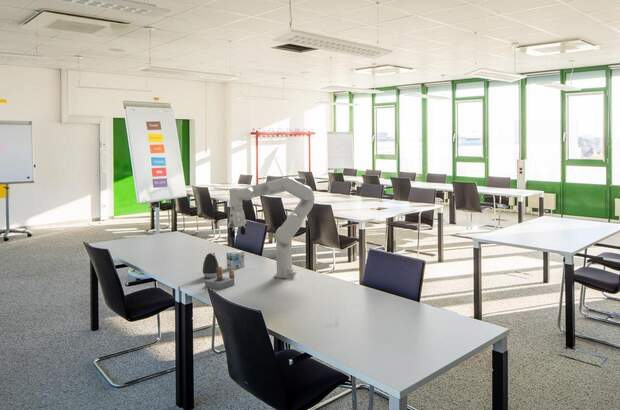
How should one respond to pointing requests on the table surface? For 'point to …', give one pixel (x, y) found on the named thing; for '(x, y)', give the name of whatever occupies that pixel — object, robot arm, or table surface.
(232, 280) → the block
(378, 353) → the table surface
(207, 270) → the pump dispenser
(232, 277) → the short pin
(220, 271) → the long pin
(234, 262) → the light bulb box
